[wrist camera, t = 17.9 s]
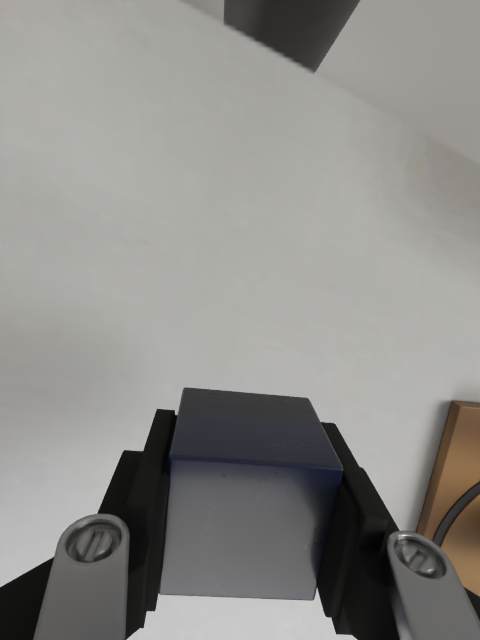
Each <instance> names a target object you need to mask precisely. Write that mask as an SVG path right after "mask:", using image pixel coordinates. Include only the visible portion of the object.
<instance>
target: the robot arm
mask: <svg viewBox="0 0 480 640" xmlns="http://www.w3.org/2000/svg"><path fill="white" fill-rule="evenodd" d="M177 416H178V415H175V410H163V409H157V411H156V414H155V417H154V420H153V423H152V426H151V429H150V432H149V435H148V438H147V441H146V444H145V447H144V451H129V450H124V451H123V453H122V455H121V458H120V460H119V462H118V465H117V467H116V470H115V472H114V475H113V477H112V479H111V482H110V484H109V487H108V489H107V492H106V494H105V496H104V499H103V501H102V504H101V506H100V508H99V511H98V513H97V514H94V515H89V516H86V517H84V518H81V519H79V520H77V521H76V522H74V523H73V524H71V525H70V526H69V527H68V528H67V529H66V530H65V531H64V532H63V533H62V535H61V537H60V539H59V542H58V544H57V548H56V552H55V556H54V557H53V558H51V559H49V560H48V561H46V562H44V563H42V564H41V565H39V566H37V567H35V568H34V569H32V570H30V571H28V572H27V573H25V574H23V575H21V576H20V577H18V578H16V579H14V580H12V581H11V582H9V583H7V584H5V585H4V586H2V587H0V640H126V639H127V638H129V637H130V636H131V635H132V634H133V633H134V632H136V631H137V630H138V629H139V628H144V622H145V617H146V612H147V611H155V609H156V603H157V597H158V591H159V585H160V579H161V567H162V555H163V543H164V531H165V519H166V507H167V495H168V483H169V475H168V474H167V473H168V460H169V454H170V449H171V444H172V439H173V435H174V430H175V425H176V420H177ZM321 424H322V426H323V428H324V430H325V432H326V434H327V436H328V438H329V440H330V442H331V444H332V446H333V448H334V450H335V452H336V454H337V456H338V458H339V460H340V462H341V464H342V466H343V474H342V478H341V483H340V487H339V489H338V493H337V498H336V502H335V506H334V511H333V515H332V520H331V524H330V529H329V533H328V538H327V542H326V547H325V551H324V555H323V560H322V564H321V569H320V573H319V578H318V582H317V588H318V592H319V595H320V599H321V603H322V607H323V611H324V614H325V616H326V617H331V618H332V621H333V625H334V628H335V632H336V634H345V635H353V636H354V637H355V638H356V639H358V640H480V597H479V596H478V595H476V594H475V593H473V592H472V591H470V590H468V589H467V588H465V587H464V586H463V585H462V583H461V581H460V578H459V576H458V574H457V572H456V570H455V568H454V566H453V564H452V562H451V560H450V559H449V557H448V556H447V554H446V553H445V552H444V551H443V550H442V549H441V548H440V547H439V546H438V545H436V544H435V543H434V542H432V541H431V540H430V539H428V538H426V537H424V536H422V535H420V534H417V533H414V532H410V531H399V529H398V527H397V525H396V524H395V522H394V520H393V518H392V517H391V515H390V513H389V511H388V510H387V508H386V506H385V505H384V503H383V501H382V499H381V498H380V496H379V494H378V492H377V491H376V489H375V487H374V485H373V484H372V482H371V480H370V478H369V477H368V475H367V473H366V472H365V470H364V469H363V468H361V467H359V465H358V464H357V462H356V460H355V458H354V457H353V455H352V453H351V451H350V449H349V448H348V446H347V444H346V442H345V441H344V439H343V437H342V435H341V433H340V432H339V430H338V428H337V426H336V425H335V424H334V423H324V422H321Z"/></svg>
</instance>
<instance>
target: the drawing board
mask: <svg viewBox="0 0 480 640" xmlns="http://www.w3.org/2000/svg"><path fill="white" fill-rule="evenodd" d="M416 533H417V534H420V535H422V536H424V537H426V538H428V539H430V540H431V541H432V542H434V543H435V544H436V545H438V546H439V547H440V548H441V549H442V550H443V551H444V552H445V553H446V554H447V556H448V557H449V559H450V560H451V562H452V564H453V566H454V568H455V570H456V572H457V574H458V576H459V578H460V581H461V583H462V585H463V586H464V587H465V588H467V589H468V590H470V591H472V592H473V593H475V594H476V595H478V596H479V597H480V403H473V402H462V401H452V405H451V408H450V412H449V416H448V419H447V423H446V426H445V430H444V434H443V437H442V441H441V445H440V448H439V452H438V456H437V459H436V463H435V467H434V470H433V474H432V478H431V481H430V485H429V489H428V492H427V496H426V500H425V503H424V507H423V510H422V514H421V518H420V521H419V525H418V529H417V532H416Z"/></svg>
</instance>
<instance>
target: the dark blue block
mask: <svg viewBox="0 0 480 640" xmlns="http://www.w3.org/2000/svg"><path fill="white" fill-rule="evenodd" d="M167 474H168V475H169V483H168V495H167V507H166V519H165V531H164V543H163V555H162V567H161V579H160V585H159V591H158V593H159V594H160V595H184V596H210V597H235V598H261V599H286V600H314V598H315V594H316V589H317V582H318V578H319V573H320V569H321V564H322V560H323V555H324V551H325V547H326V542H327V538H328V533H329V529H330V524H331V520H332V515H333V511H334V506H335V502H336V498H337V493H338V489H339V487H340V483H341V478H342V474H343V466H342V464H341V462H340V460H339V458H338V456H337V454H336V452H335V450H334V448H333V446H332V444H331V442H330V440H329V438H328V436H327V434H326V432H325V430H324V428H323V426H322V424H321V422H320V420H319V418H318V416H317V414H316V412H315V410H314V408H313V406H312V404H311V402H310V400H309V399H308V398H302V397H290V396H279V395H267V394H256V393H244V392H232V391H221V390H209V389H198V388H184V389H183V392H182V397H181V402H180V406H179V411H178V416H177V420H176V425H175V430H174V435H173V439H172V444H171V449H170V454H169V460H168V473H167Z"/></svg>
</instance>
